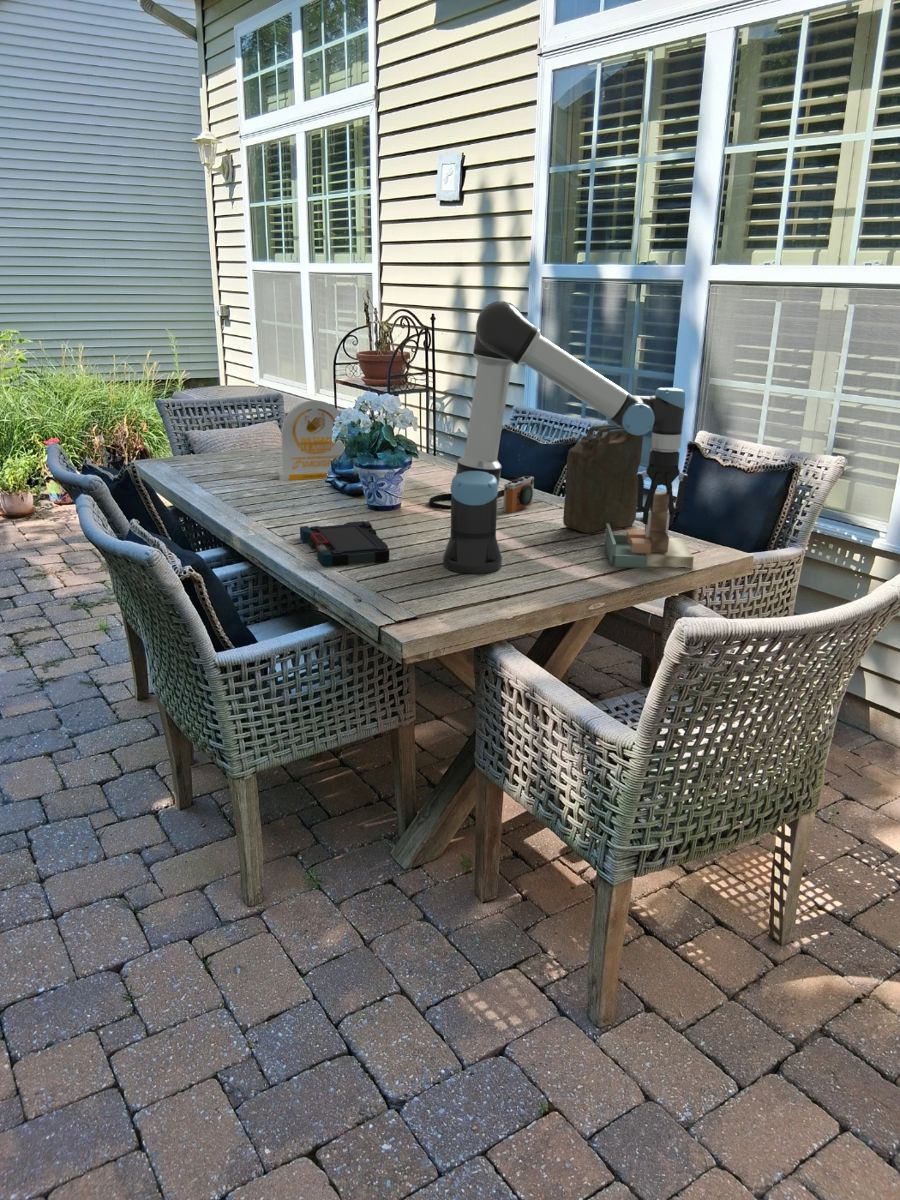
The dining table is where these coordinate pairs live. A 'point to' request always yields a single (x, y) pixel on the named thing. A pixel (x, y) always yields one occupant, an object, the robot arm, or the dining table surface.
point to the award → (308, 441)
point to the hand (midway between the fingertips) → (656, 536)
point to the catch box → (622, 551)
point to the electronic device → (345, 544)
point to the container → (602, 480)
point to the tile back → (635, 534)
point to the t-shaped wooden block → (659, 522)
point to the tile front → (640, 545)
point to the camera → (514, 494)
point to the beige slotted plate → (671, 555)
